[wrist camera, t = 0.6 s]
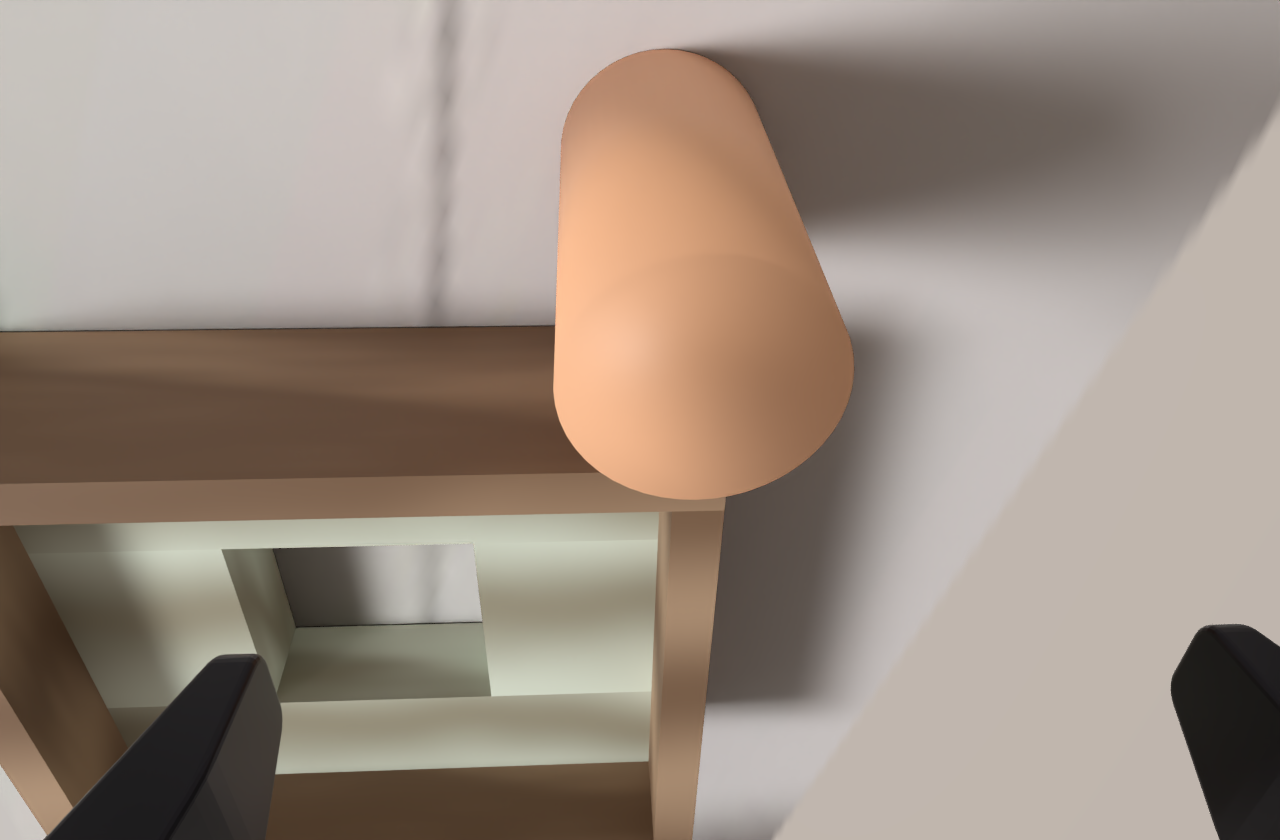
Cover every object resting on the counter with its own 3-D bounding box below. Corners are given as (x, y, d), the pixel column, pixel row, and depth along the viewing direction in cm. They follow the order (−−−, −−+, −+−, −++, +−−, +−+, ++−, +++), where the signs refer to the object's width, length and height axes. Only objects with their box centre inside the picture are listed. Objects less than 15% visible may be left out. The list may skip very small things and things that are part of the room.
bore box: (674, 707, 30) (689, 863, 26) (148, 724, 29) (82, 887, 25) (700, 324, 22) (728, 470, 18) (-41, 332, 21) (-184, 487, 17)
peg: (753, 242, 21) (831, 497, 14) (563, 244, 20) (558, 503, 14) (772, 49, 18) (877, 252, 12) (557, 48, 18) (546, 254, 12)
